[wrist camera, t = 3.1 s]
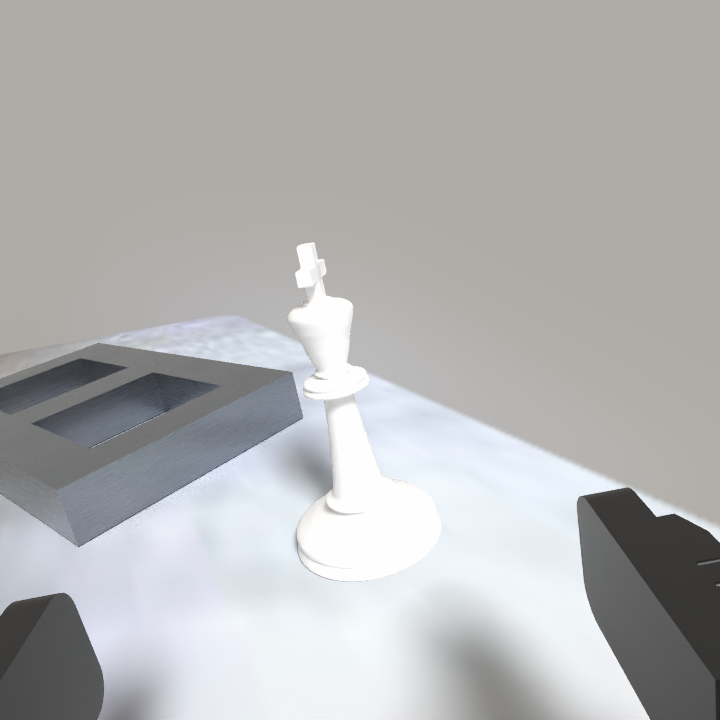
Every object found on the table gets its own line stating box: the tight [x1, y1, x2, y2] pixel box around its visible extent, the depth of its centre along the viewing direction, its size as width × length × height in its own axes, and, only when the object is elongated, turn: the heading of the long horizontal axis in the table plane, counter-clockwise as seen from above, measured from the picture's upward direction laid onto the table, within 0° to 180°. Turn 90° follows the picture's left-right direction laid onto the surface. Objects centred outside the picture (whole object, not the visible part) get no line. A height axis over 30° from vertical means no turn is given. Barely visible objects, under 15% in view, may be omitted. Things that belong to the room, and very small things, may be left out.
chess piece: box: [287, 243, 441, 581], centre depth 20 cm, size 5×5×10 cm
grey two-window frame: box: [0, 343, 303, 546], centre depth 36 cm, size 12×22×2 cm, turn 47°
